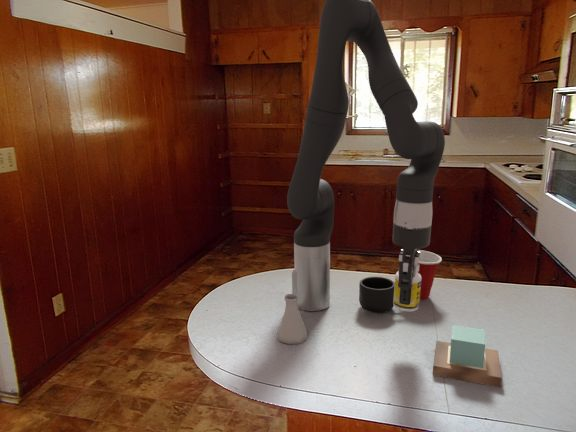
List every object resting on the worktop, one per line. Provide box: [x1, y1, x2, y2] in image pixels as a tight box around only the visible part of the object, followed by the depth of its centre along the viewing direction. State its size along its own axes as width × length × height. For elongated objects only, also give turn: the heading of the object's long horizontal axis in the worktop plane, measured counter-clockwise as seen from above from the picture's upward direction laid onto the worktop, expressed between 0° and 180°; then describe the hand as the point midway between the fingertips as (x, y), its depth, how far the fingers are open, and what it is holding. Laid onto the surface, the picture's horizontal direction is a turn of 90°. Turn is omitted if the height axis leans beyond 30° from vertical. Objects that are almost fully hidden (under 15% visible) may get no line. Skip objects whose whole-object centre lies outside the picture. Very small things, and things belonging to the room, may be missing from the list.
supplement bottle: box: [393, 264, 422, 312], centre depth 95 cm, size 5×5×10 cm
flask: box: [276, 293, 308, 345], centre depth 101 cm, size 7×7×10 cm
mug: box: [358, 276, 395, 314], centre depth 114 cm, size 12×9×7 cm
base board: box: [432, 340, 503, 388], centre depth 89 cm, size 12×10×2 cm
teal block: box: [450, 324, 486, 368], centre depth 88 cm, size 6×6×5 cm
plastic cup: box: [418, 249, 443, 301], centre depth 121 cm, size 11×11×12 cm
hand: (406, 297), depth 95 cm, fingers closed on supplement bottle, 5 cm apart
